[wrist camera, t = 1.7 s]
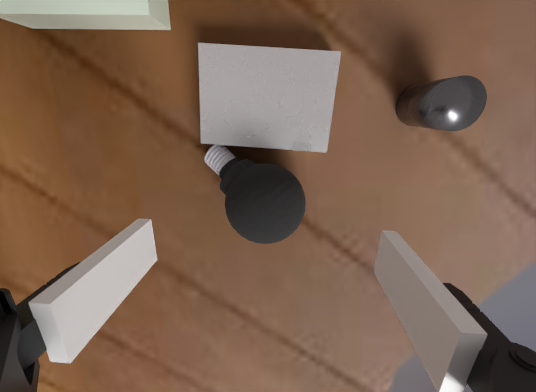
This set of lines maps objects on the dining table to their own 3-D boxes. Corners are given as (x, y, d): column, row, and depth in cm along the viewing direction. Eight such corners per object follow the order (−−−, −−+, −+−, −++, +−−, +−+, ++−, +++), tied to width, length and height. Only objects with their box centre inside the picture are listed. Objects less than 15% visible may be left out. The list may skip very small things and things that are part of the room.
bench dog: (392, 125, 21) (425, 130, 16) (400, 82, 20) (438, 75, 15) (432, 126, 20) (477, 131, 16) (442, 83, 19) (494, 76, 15)
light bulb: (197, 116, 17) (305, 218, 15) (247, 117, 22) (331, 193, 21) (166, 183, 20) (252, 274, 18) (216, 170, 26) (286, 239, 24)
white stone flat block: (209, 139, 22) (200, 143, 20) (208, 50, 20) (198, 42, 17) (321, 147, 22) (326, 152, 20) (333, 58, 20) (341, 51, 17)
